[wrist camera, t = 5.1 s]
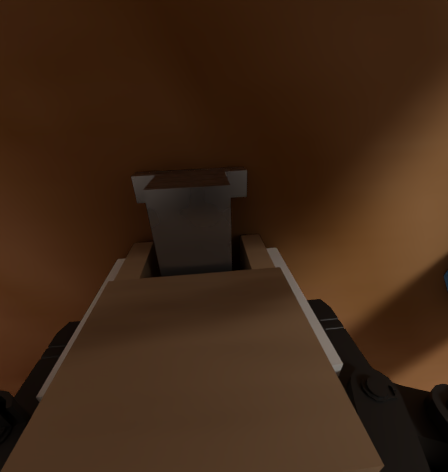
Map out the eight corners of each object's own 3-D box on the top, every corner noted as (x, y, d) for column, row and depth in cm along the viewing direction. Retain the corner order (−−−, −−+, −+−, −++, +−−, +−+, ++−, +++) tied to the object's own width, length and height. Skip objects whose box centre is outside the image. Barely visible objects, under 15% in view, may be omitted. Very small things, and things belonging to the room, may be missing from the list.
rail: (135, 172, 10) (112, 191, 7) (244, 166, 10) (258, 183, 8) (183, 387, 19) (180, 432, 16) (241, 381, 19) (248, 423, 16)
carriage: (129, 243, 11) (-73, 598, 3) (262, 233, 12) (411, 519, 3) (151, 322, 14) (80, 618, 6) (258, 313, 15) (333, 573, 6)
